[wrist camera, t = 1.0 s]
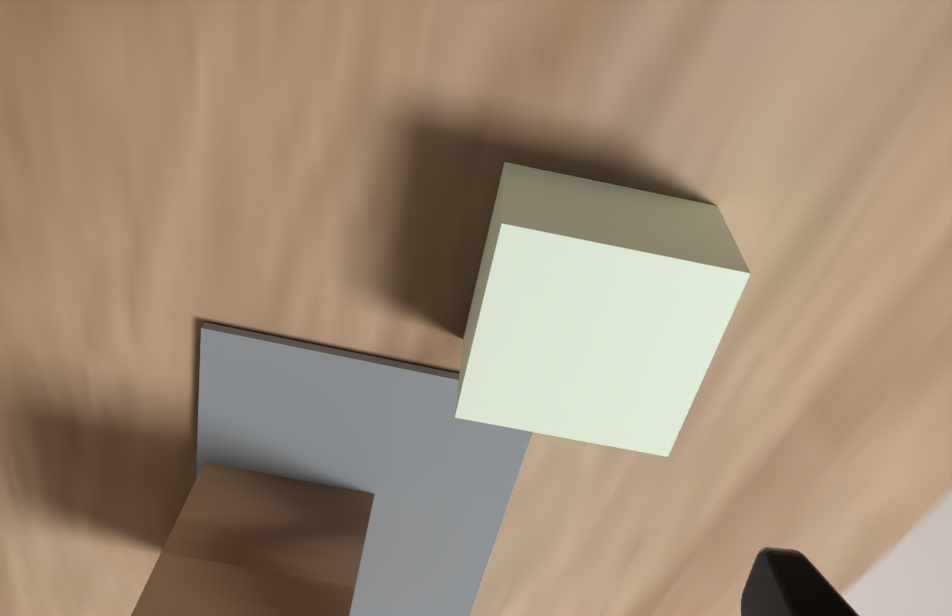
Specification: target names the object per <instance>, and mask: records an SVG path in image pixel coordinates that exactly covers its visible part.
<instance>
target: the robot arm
mask: <svg viewBox="0 0 952 616" xmlns="http://www.w3.org/2000/svg"><path fill="white" fill-rule="evenodd" d="M741 616H859V615H858V614H857V613H856V612H855V611H854V610H853V608H852V607H851V606H850V605H849V604H848V603H847V602H846V601H845V600H844V598H843V597H842V596H841V595H840V594H839V593H838V592H837V591H836V590H835V588H834V587H833V586H832V585H831V584H830V583H829V582H828V581H827V580H826V579H825V577H824V576H823V575H822V574H821V573H820V572H819V571H818V570H817V569H816V567H815V566H814V565H813V564H812V563H811V562H810V561H809V560H808V559H807V557H805V556H804V555H803V554H802V553H800V552H799V551H797V550H793V549H782V548H770V547H766V548H763V549H761V550H760V551H759V553H758V555H757V556H756V559H755V562H754V564H753V567H752V569H751V572H750V575H749V577H748V580H747V582H746V585H745V587H744V590H743V593H742V598H741Z"/></svg>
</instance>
